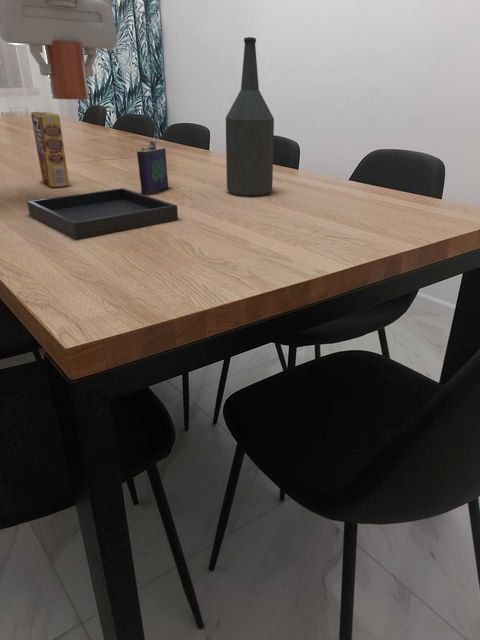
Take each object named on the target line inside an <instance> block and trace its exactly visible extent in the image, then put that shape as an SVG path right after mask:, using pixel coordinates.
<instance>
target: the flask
mask: <svg viewBox="0 0 480 640" xmlns="http://www.w3.org/2000/svg"><path fill="white" fill-rule="evenodd" d="M148 142H149V144H148V145H147V146H146V147H141V148H140V149H138V150H137V151H136V154H137V155H136V157H137V165H138V172H139V173H138V174H139V182H140V190H141V191H140V192H141V193H140V194H143V195H146V196H150V195H154V194H158V193H161V192H163V191H166V190H169V177H168V176H169V175H168V167H167V153H166V147H165V146H157V145H156V143H158V141H156V140H154V139H152V140H148Z"/></svg>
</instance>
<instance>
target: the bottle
mask: <svg viewBox="0 0 480 640" xmlns="http://www.w3.org/2000/svg"><path fill="white" fill-rule="evenodd" d="M243 42H244V43H243V44H244V49H243V58H242V59H243V61H242V70H241V71H242V72H241V84H240V90H239V92H238V94H237V96H236V97H235V99H234V101H233V103H232V105H231V107H230V109H229V111H228V113H227V114H226V116H225V159H226V161H225V162H226V190H227V191H228V193H229V194H230V195H231V194H232V195H234V196H238V197H263V196H267V195H268V194H270V193H271V192H272V190H273V178H274V177H273V176H274V173H273V171H274V134H275V118H274V116H273V114H272V112H271V111H270V108H269V107H268V105H267V103H266V101H265V99H264V97H263V95H262V93H261V91H260V88H259V86H260V85H259V74H258V72H259V71H258V62H257V61H258V60H257V50H256V49H257V47H256V42H257V38H256V37H253V36H248V37H244V39H243Z"/></svg>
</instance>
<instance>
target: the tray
mask: <svg viewBox="0 0 480 640" xmlns="http://www.w3.org/2000/svg"><path fill="white" fill-rule="evenodd" d="M26 204H27V209H28V214H29V216H30V217H32V218H33V219H36V220H38V221H39V222H42V223H43V224H45V225H47V226H49V227H51V228H53V229H55V230H57V231H59V232H62V233H63V234H65V235H66V236H69V237H71V238H73V239H75V240H82V239H85V238H91V237H96V236H101V235H107V234H111V233H116V232H121V231H125V230H126V231H127V230H132V229H138V228H141V227H142V228H143V227H147V226H152V225H158V224H163V223H167V222H172V221H178V220H179V214H178V213H179V212H178V205H176V204H175V203H174V204H173V203H171V202H167V201H164V200H162V199H159V198H155V197H152V196H150V195H143V194H142V193H140V192H136V191H133V190H130V189H127V188H125V187H120V188H113V189H107V190H99V191H92V192H85V193H84V192H83V193H77V194H70V195H61V196H55V197H48V198H42V199H41V198H40V199H35V200H28V201H26Z"/></svg>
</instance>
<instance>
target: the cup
mask: <svg viewBox="0 0 480 640" xmlns="http://www.w3.org/2000/svg"><path fill="white" fill-rule="evenodd" d="M43 48H44V52H45V59H46V64H51V67H52V69H51V71H52V76H48V78H49V84H50V89H51V90H50V91H51V96H52V97H51V98H52V99H54V100H89V98H90V97H89V87H88V80H87V76H86V71H85V56H84V55H85V54H84V48H83V47H82V43H80V42H66V41H52V45H44V46H43Z"/></svg>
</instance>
